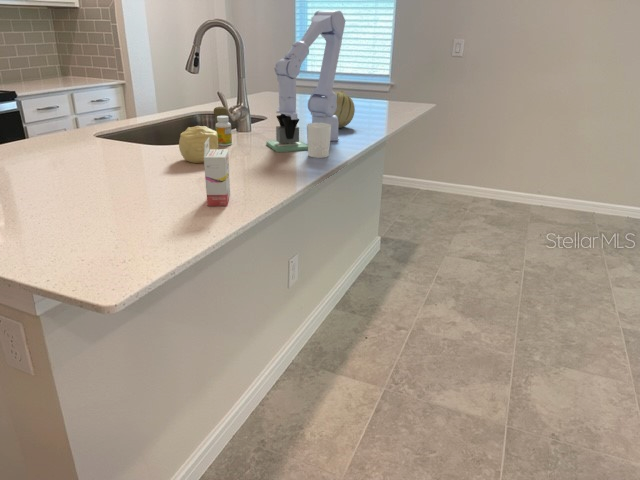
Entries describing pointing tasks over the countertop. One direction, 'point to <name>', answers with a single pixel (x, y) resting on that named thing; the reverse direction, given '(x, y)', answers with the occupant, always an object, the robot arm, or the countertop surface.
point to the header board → (287, 146)
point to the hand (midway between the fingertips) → (287, 137)
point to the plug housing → (282, 135)
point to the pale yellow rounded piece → (197, 143)
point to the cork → (220, 113)
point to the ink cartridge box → (216, 175)
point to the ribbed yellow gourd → (344, 109)
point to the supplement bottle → (223, 131)
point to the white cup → (318, 139)
